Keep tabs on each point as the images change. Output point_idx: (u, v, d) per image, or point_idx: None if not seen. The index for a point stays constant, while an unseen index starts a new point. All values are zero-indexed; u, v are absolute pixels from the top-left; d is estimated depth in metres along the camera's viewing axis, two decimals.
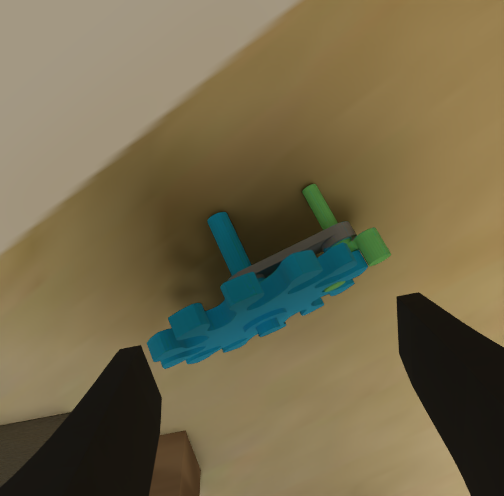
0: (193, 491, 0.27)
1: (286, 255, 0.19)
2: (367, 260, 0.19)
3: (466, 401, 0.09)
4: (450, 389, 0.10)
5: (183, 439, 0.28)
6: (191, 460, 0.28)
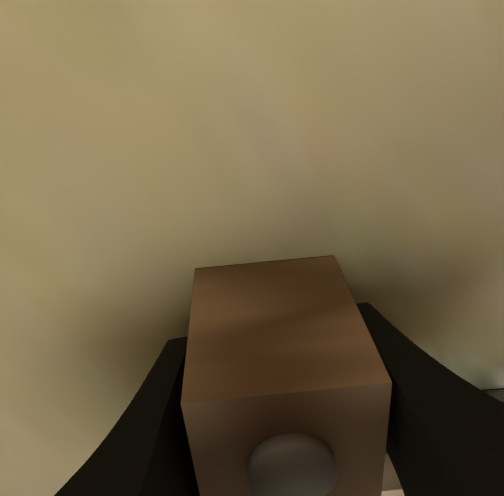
0: (300, 308, 0.11)
1: None
2: None
3: (397, 414, 0.09)
4: None
5: None
6: (258, 279, 0.12)
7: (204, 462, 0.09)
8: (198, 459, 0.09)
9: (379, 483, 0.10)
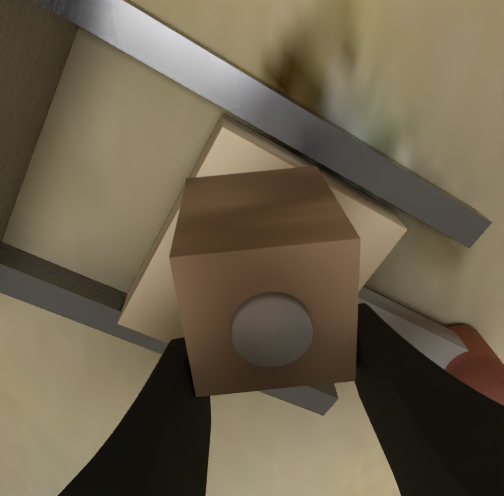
0: (282, 198, 0.12)
1: None
2: None
3: (394, 414, 0.09)
4: (383, 401, 0.10)
5: None
6: (245, 182, 0.13)
7: (192, 322, 0.10)
8: (186, 318, 0.10)
9: (353, 349, 0.11)
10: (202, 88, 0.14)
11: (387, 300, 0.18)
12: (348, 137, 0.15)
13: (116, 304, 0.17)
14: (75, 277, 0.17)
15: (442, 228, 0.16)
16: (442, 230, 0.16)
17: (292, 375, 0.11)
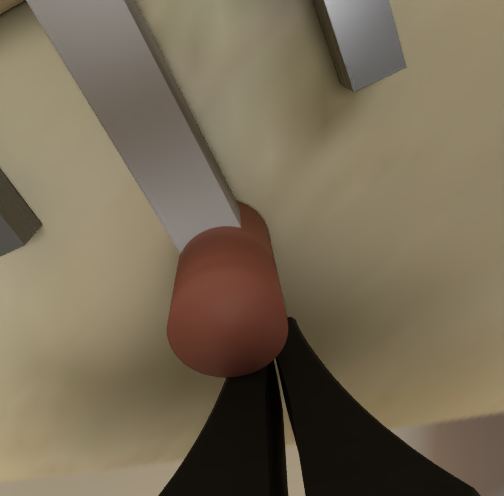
0: None
1: None
2: None
3: None
4: (292, 418, 0.10)
5: None
6: None
7: None
8: None
9: None
10: None
11: (165, 63, 0.10)
12: None
13: None
14: None
15: (338, 20, 0.09)
16: (335, 25, 0.09)
17: None
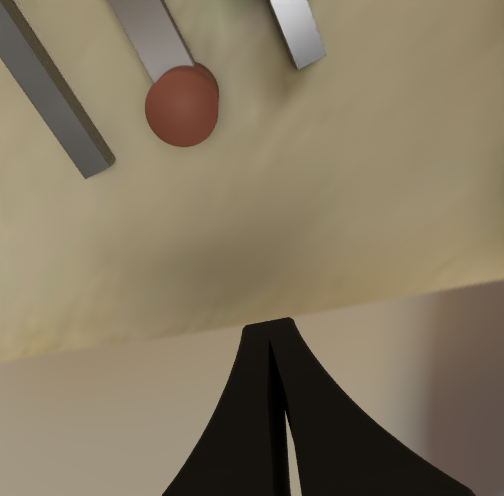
0: None
1: None
2: None
3: None
4: None
5: None
6: None
7: None
8: None
9: None
10: None
11: None
12: None
13: None
14: None
15: (286, 29, 0.17)
16: (285, 32, 0.17)
17: None
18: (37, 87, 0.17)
